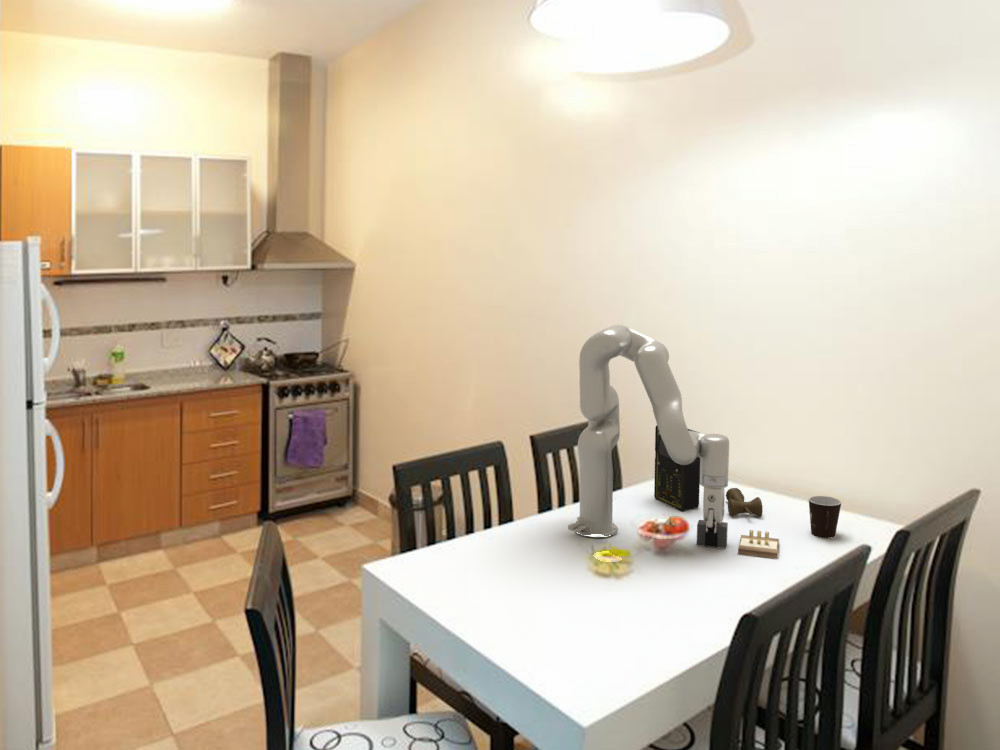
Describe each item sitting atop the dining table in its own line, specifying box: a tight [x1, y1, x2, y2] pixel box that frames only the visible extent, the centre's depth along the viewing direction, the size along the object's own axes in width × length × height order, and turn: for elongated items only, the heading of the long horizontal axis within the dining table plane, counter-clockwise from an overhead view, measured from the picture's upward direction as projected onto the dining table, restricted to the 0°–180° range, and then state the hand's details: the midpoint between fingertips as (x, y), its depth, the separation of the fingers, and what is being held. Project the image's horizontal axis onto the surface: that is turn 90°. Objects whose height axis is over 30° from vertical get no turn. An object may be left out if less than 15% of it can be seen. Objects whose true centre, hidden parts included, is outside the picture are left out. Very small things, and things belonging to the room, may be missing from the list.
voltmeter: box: [653, 424, 701, 512], centre depth 253 cm, size 16×9×25 cm, turn 25°
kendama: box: [725, 487, 764, 518], centre depth 247 cm, size 6×10×20 cm
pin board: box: [737, 529, 780, 559], centre depth 216 cm, size 11×10×5 cm
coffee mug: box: [808, 495, 842, 539], centre depth 225 cm, size 12×9×10 cm
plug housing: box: [696, 519, 729, 549], centre depth 220 cm, size 4×8×6 cm, turn 69°
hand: (711, 542), depth 221 cm, fingers closed on plug housing, 4 cm apart
